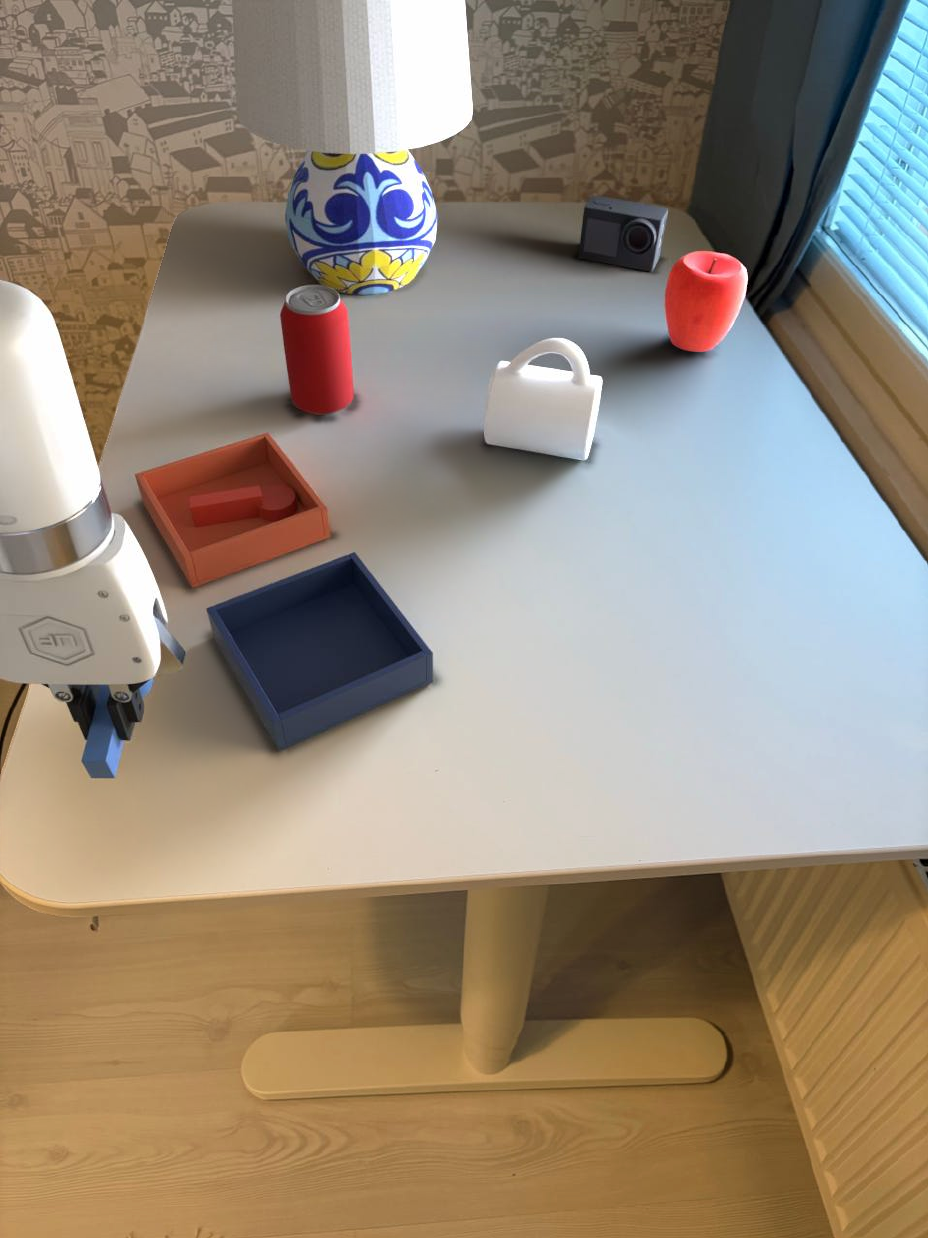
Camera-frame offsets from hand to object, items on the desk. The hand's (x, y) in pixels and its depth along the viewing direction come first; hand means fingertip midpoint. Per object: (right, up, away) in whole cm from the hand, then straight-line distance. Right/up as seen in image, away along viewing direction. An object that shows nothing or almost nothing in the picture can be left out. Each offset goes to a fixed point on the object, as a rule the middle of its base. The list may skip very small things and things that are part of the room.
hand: (113, 722), depth 63 cm
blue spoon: (0, 0, +1) cm, 1 cm away
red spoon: (+4, +17, +22) cm, 28 cm away
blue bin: (+13, +4, +11) cm, 17 cm away
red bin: (+3, +16, +22) cm, 28 cm away
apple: (+51, +39, +46) cm, 79 cm away
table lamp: (+11, +53, +57) cm, 78 cm away
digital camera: (+45, +56, +61) cm, 94 cm away
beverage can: (+9, +31, +36) cm, 48 cm away
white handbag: (+32, +25, +32) cm, 51 cm away
